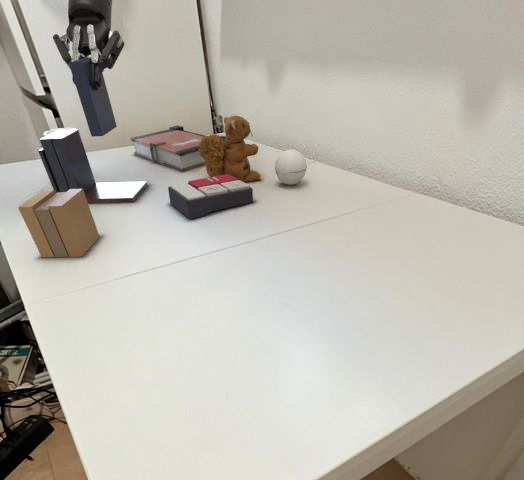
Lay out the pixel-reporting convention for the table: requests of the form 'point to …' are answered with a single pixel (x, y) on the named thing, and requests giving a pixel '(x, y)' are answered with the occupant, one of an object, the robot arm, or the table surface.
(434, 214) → the table surface
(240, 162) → the stuffed squirrel
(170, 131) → the book
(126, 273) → the table surface
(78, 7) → the robot arm
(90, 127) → the navy book
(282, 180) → the seamed sphere
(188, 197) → the grey and red device
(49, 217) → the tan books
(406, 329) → the table surface
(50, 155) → the book stand
